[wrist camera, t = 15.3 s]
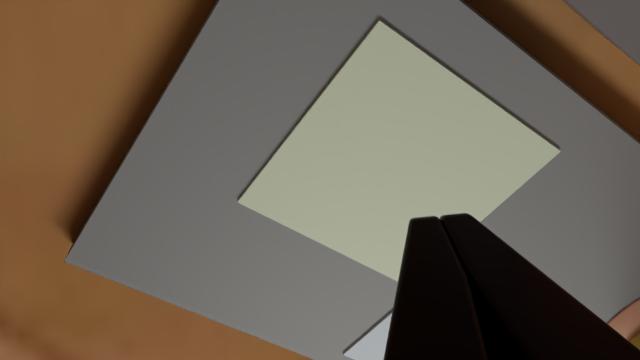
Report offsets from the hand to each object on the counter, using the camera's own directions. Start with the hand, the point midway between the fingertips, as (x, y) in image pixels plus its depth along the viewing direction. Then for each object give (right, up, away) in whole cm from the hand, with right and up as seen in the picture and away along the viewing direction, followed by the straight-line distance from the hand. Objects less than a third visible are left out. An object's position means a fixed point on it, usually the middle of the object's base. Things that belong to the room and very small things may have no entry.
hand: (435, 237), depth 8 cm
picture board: (+5, -3, +13) cm, 14 cm away
